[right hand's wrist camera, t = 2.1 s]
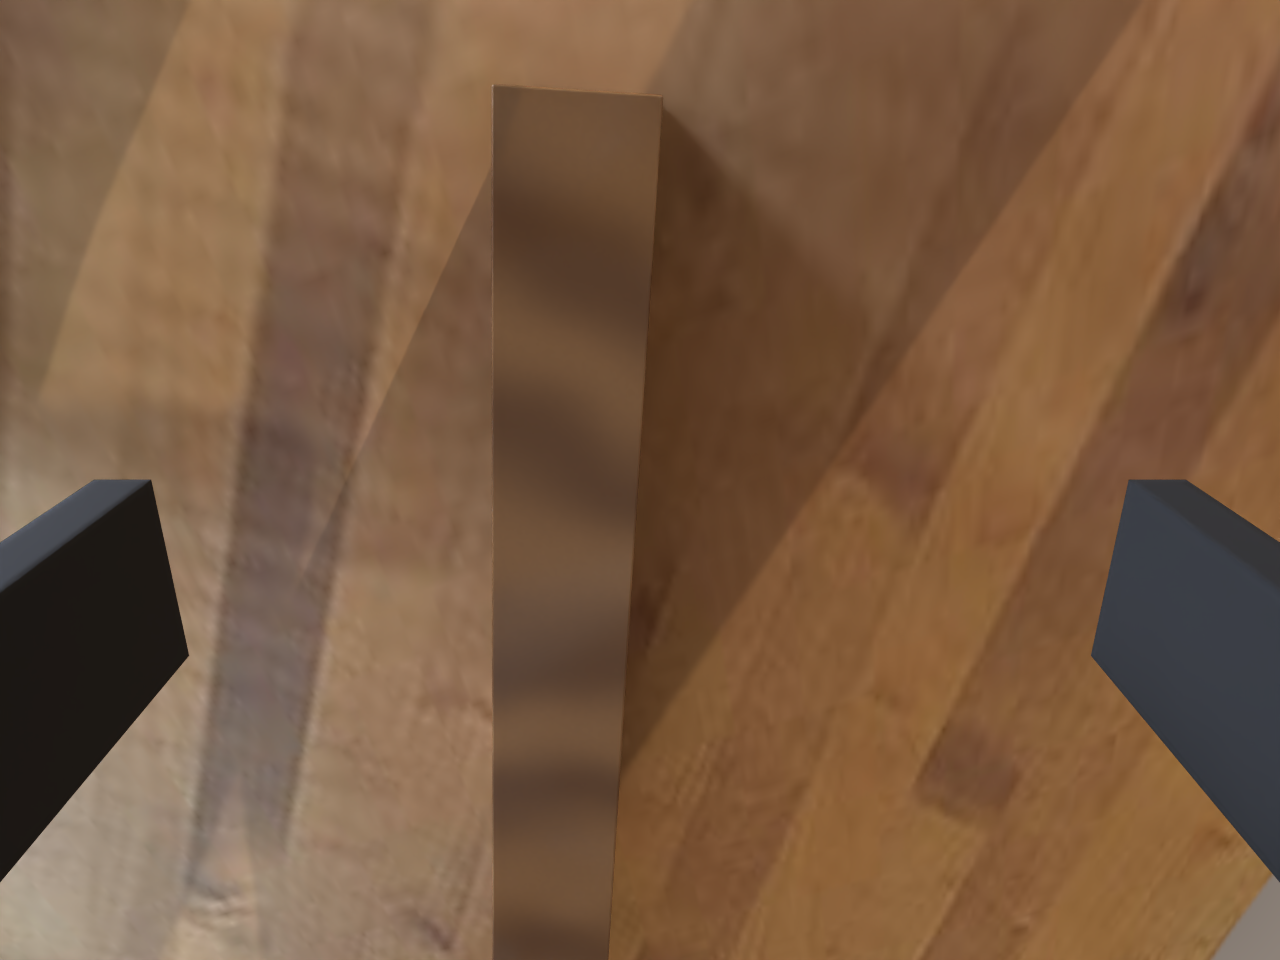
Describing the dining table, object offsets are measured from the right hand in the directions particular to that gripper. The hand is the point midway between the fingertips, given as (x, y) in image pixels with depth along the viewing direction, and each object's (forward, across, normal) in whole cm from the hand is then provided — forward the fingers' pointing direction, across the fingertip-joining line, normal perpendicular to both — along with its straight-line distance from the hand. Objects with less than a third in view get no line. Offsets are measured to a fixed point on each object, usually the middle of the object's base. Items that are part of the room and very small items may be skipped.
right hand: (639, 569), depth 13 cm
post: (+26, -4, -27) cm, 37 cm away
